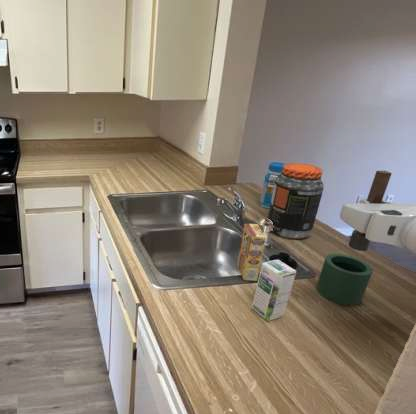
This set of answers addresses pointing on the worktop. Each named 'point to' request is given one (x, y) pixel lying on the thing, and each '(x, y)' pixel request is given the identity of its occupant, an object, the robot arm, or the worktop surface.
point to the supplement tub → (296, 200)
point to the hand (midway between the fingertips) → (370, 202)
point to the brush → (376, 196)
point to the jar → (344, 279)
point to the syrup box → (273, 289)
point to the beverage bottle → (270, 183)
